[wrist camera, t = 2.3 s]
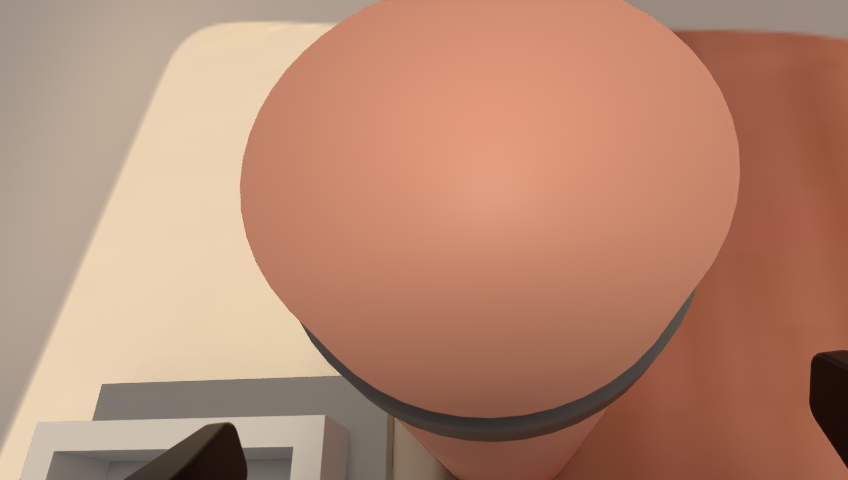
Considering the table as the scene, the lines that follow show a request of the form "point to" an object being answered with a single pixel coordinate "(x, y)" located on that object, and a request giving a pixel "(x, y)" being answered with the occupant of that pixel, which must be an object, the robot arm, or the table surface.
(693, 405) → the table surface
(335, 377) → the jig
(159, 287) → the table surface
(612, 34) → the banded pink rod
